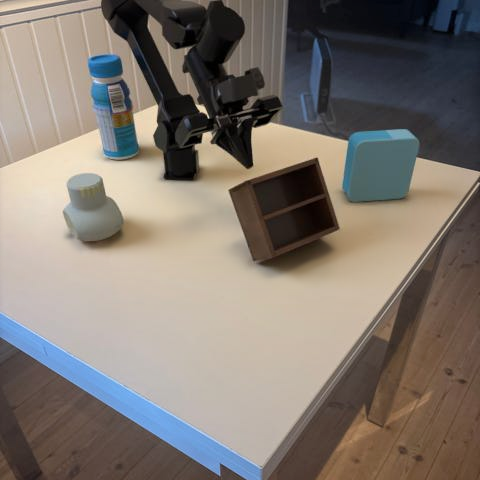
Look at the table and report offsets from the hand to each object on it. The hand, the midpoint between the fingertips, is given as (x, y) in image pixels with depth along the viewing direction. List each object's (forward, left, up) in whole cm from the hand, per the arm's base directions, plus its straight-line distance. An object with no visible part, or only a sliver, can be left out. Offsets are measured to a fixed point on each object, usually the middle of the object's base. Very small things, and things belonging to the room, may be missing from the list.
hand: (250, 167), depth 82 cm
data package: (+23, +13, -11) cm, 29 cm away
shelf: (+9, -10, -9) cm, 16 cm away
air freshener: (-27, -6, -11) cm, 30 cm away
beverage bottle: (-33, +28, -11) cm, 44 cm away
